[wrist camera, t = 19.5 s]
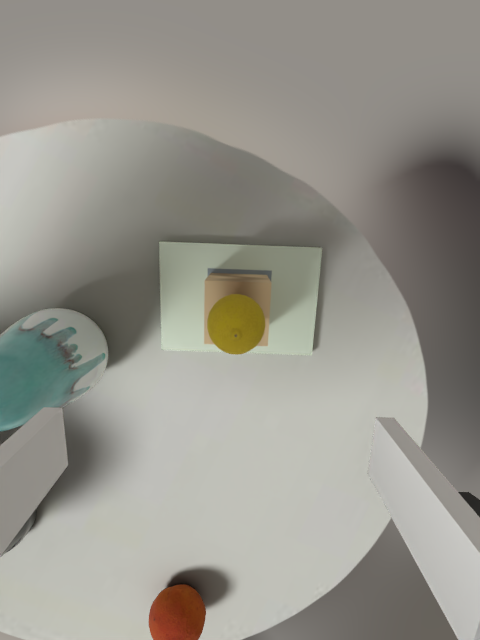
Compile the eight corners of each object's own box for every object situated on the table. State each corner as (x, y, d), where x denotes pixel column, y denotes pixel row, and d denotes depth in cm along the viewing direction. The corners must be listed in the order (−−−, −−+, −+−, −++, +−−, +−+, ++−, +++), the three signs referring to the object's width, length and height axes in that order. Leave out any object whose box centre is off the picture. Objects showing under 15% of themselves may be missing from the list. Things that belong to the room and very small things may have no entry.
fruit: (182, 563, 55) (172, 618, 47) (217, 595, 56) (213, 653, 49) (143, 589, 56) (128, 646, 48) (179, 620, 58) (169, 679, 50)
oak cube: (210, 326, 43) (204, 344, 36) (210, 272, 41) (204, 280, 35) (263, 328, 43) (267, 346, 36) (266, 274, 41) (271, 282, 35)
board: (163, 346, 45) (161, 349, 44) (161, 241, 42) (158, 241, 41) (310, 352, 45) (312, 355, 44) (320, 247, 42) (322, 247, 41)
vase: (57, 392, 47) (-51, 485, 30) (17, 318, 44) (-127, 372, 27) (131, 367, 46) (65, 448, 29) (95, 289, 43) (-3, 326, 26)
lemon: (252, 345, 36) (254, 375, 29) (204, 328, 36) (193, 354, 28) (270, 298, 35) (278, 316, 27) (221, 280, 35) (214, 293, 27)
